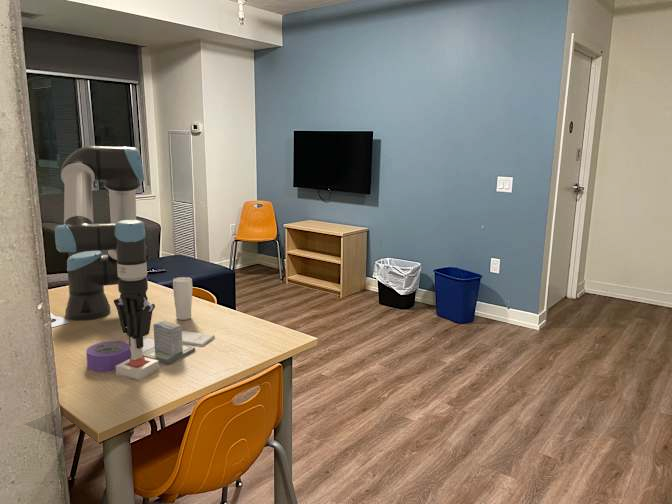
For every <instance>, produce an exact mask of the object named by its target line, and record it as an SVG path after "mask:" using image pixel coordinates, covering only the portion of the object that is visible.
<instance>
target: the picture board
mask: <svg viewBox="0 0 672 504" xmlns="http://www.w3.org/2000/svg"><path fill="white" fill-rule="evenodd" d="M182 345H183V351H182V352H180V353H178V354H175V355H173V356H172V355H169V354H166V353H163V352H160V351H157V350H155V345H154V337H150V336H148V335H146V336H144V337H143V347H142V353H143V357H146V358H150V359H154V360H158V361H159V364H164V365H167V366H170V365H171V364H173V363H175V362H177V361H178V360H181V359H182V358H184V357H186V356H187V355H190V354H192V353H193V352H195V351H196V347H193V346H191V345H190V346H189V345H187V344H182ZM130 356H131V347H130Z"/></svg>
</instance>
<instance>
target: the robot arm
mask: <svg viewBox="0 0 672 504" xmlns="http://www.w3.org/2000/svg"><path fill="white" fill-rule="evenodd" d="M61 165H62V166H61V170H60V178H61V181H62V183H63V184H64V193H63V194H64V196H63V197H64V199H63V200H64V204H63V206H64V207H63V210H64V212H63V224H58V225H56V226H55V229H54V240H55V249H56V250H57V251H58V252H59V253H75V254H72V255H70V256H68V258H67V260H66V271H67V277H68V278H67V279H68V281H67V282H68V295H69V296H68V299H67V300H68V301H67V303H66V308H65V317H66V319H69V320H72V321H73V320H75V321H88V320H95V319H99V318H102V317H105V316H107V315H109V314H110V313H111V305H110V303H109V301H108V298H107V295H106V293H105V286H116V285H117V287H118V288H117V291H118V292H119V293H120V295H119V298H116V299H113V304H114V306H115V308H116V310H117V314H118V319H119V324H120V327H121V331H122V333H123V334H126V335H127V337H128V344H129V345H130V347H131V355H130V356H131V359H132V360H137V359H139V358H141V357H143V353H142V347H143V338H144V337H146V336H148V335H149V334H150V330H151V329H150V328H151V322H152V318H153V317H152V316H153V311H154V310H155V308H156V305H155V303H150V301H148V296H147V291H148V289H149V283H148V282H149V281H148V264H147V249H146V248H147V246H146V245H147V244H146V241H147V239H146V237H147V236H146V235H147V232H146V228H145V223H144V221H142V220H138V219H137V200H136V199H137V196H136V191H137V190H138V189H139V188H140V187H141V183H142V182H144V181H145V173H144V168H143V162H142V156H141V153H140V150H139V149H138V148H136V147H133V146H132V147H131V146H125V145H124V146H109V145H108V146H105V145H104V146H101V145H98V146H97V145H88V146H83V147H80V148H78V149H77V150H74V151H73V152H72V153H71V154H69V155H68V156H67V158H66V159H65V160H64V162H63V164H61ZM94 182H103V187H104V188H105V189H107V190H108V196H109V197H108V198H109V199H108V200H109V212H110V213H109V215H110V216H109V217H110V222H109V223H94V210H93V209H94V207H93V206H94V205H93V204H94V203H93V184H94ZM102 251H107V254H103V253H102Z"/></svg>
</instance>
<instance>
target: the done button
mask: <svg viewBox="0 0 672 504" xmlns="http://www.w3.org/2000/svg"><path fill="white" fill-rule="evenodd" d="M143 365H145V358H144V357H141V358H139V359H137V360H132V359H131V358H130V366H131V367H135V368H139V367H141V366H143Z"/></svg>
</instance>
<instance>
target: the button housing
mask: <svg viewBox="0 0 672 504" xmlns="http://www.w3.org/2000/svg"><path fill="white" fill-rule="evenodd" d="M144 358H145V365H143V366H141V367H139V368H135V367H131V366H130V359H128V360H126V361H124V362H122V363H120V364H118V365H116V370H115V375H116V376H117V377H121V378H123V379H128V380H131V381H133V382H134V381H135V382H140V381H142V380H144V379H145V378H147V377H149V376H151V375H153V374H155V373H157V372H159V370H160V363H159V361H158V360H154V359H150V358H146V357H144Z"/></svg>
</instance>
